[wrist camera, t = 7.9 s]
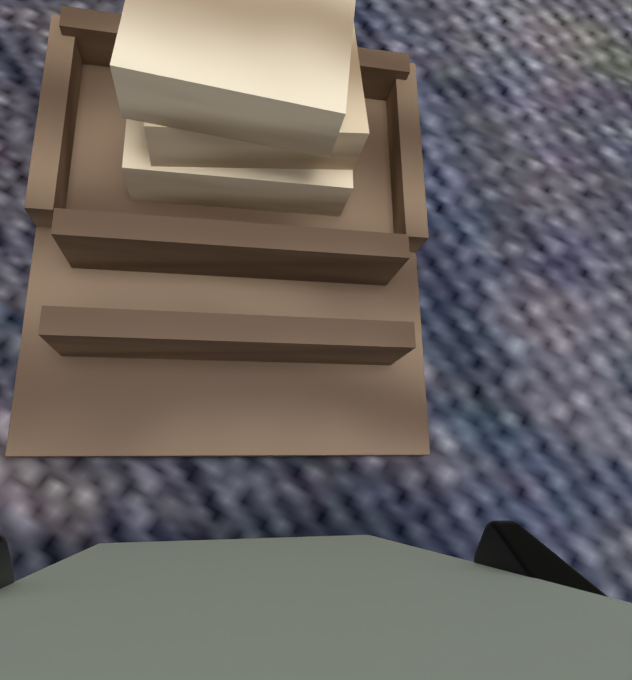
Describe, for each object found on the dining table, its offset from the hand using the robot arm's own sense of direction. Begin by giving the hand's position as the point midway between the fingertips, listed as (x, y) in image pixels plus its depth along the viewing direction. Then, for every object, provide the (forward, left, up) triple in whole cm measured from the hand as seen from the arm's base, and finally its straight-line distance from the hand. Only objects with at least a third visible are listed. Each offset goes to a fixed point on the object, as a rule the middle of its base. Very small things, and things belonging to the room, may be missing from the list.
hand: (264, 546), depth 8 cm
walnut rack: (+6, -9, -13) cm, 17 cm away
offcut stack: (+8, -13, -13) cm, 20 cm away
